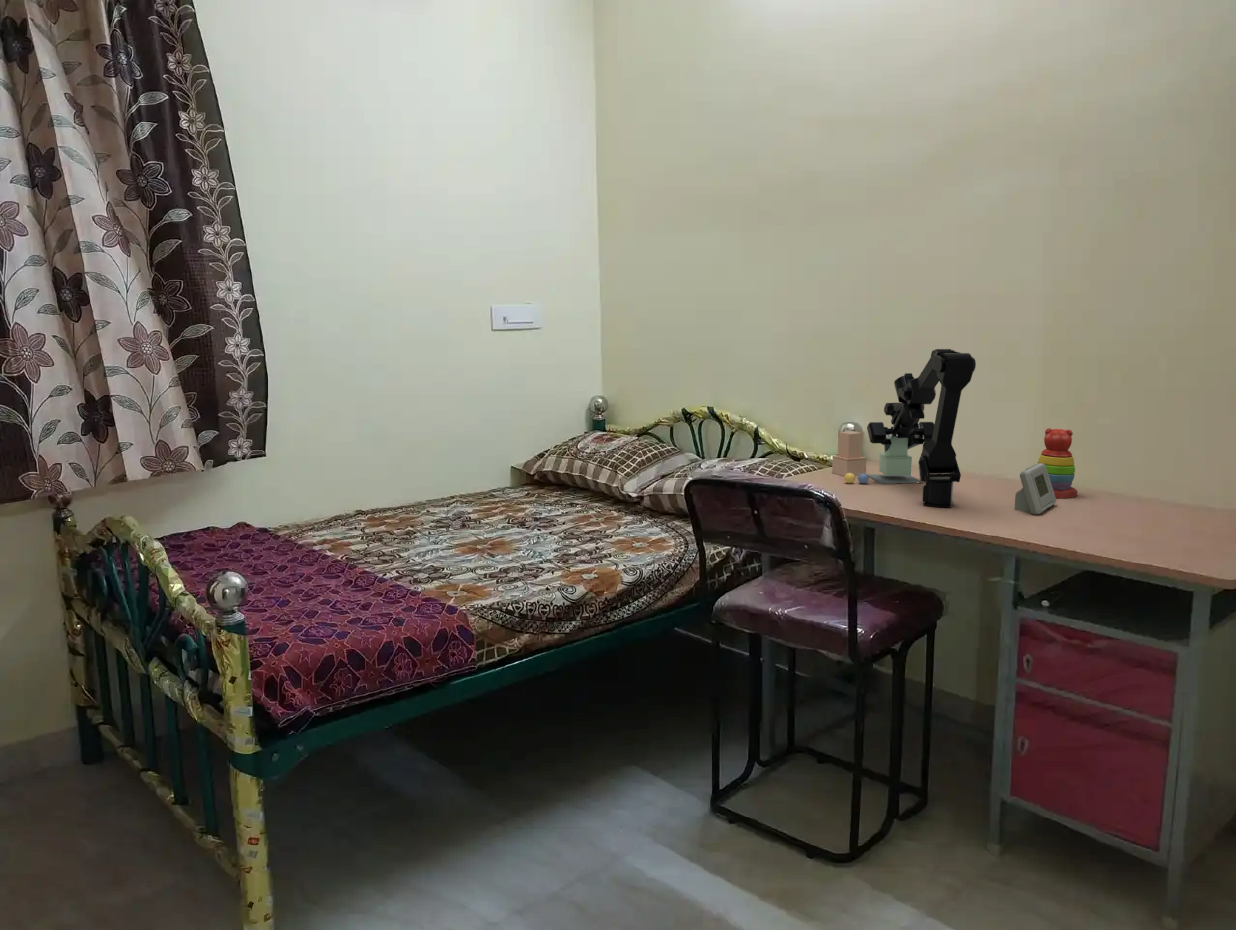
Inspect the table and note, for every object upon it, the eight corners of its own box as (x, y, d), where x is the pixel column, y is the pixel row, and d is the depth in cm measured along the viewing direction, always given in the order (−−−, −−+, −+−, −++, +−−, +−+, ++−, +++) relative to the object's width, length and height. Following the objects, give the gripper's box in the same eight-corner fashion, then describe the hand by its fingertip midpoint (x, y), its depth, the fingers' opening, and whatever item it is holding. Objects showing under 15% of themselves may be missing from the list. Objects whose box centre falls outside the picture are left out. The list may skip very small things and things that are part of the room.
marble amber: (854, 471, 266) (858, 477, 263) (850, 480, 267) (854, 486, 265) (844, 470, 265) (848, 476, 262) (841, 478, 266) (844, 484, 264)
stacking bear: (1078, 493, 250) (1083, 427, 247) (1073, 500, 241) (1079, 432, 238) (1034, 489, 255) (1039, 425, 252) (1028, 496, 247) (1033, 429, 244)
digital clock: (1037, 517, 223) (1040, 473, 221) (1001, 510, 230) (1004, 468, 228) (1068, 507, 234) (1071, 465, 232) (1032, 501, 240) (1035, 461, 239)
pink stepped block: (865, 474, 278) (867, 433, 276) (846, 476, 275) (848, 434, 273) (851, 471, 284) (852, 430, 282) (832, 472, 281) (833, 431, 279)
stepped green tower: (910, 475, 266) (913, 431, 264) (886, 475, 266) (888, 431, 264) (902, 470, 273) (904, 428, 271) (879, 471, 273) (880, 428, 271)
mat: (922, 483, 264) (922, 481, 264) (880, 483, 264) (880, 482, 264) (907, 475, 276) (907, 474, 276) (867, 476, 276) (867, 474, 276)
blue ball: (868, 476, 266) (872, 477, 263) (862, 485, 266) (866, 486, 263) (859, 470, 266) (864, 471, 263) (854, 479, 266) (858, 480, 263)
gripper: (936, 393, 262) (920, 427, 275) (870, 394, 262) (857, 428, 274) (945, 424, 256) (928, 458, 268) (877, 425, 255) (864, 458, 268)
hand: (894, 449), depth 270 cm, fingers closed on stepped green tower, 5 cm apart
